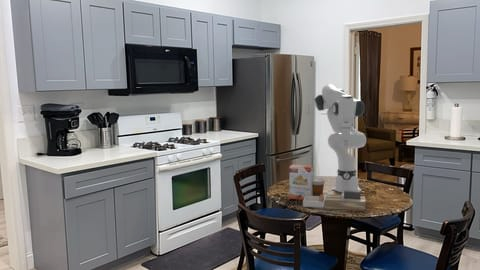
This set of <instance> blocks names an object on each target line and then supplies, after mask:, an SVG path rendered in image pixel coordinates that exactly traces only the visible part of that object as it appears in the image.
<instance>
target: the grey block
mask: <svg viewBox="0 0 480 270" xmlns="http://www.w3.org/2000/svg"><path fill="white" fill-rule="evenodd" d="M341 195H342V201H344V198H345V199H360V196H361V191H344V190H342V192H341Z"/></svg>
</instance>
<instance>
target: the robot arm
mask: <svg viewBox="0 0 480 270" xmlns="http://www.w3.org/2000/svg"><path fill="white" fill-rule="evenodd" d="M313 100H314V102H313V103H314V107H315V108H316V109H317V110H318V111H319V112H320V111H324V110H326V115H327V119H328V122H329V124H330V127H331V128H332V132H334V133H331V134H330V135H329V136H328V138H327V144H328V146H329V148H330V149H332V150H333V152H334V153H336V156H337V157H336V158H337V171H336V172H337V173H336V174H337V176H336V177H334V186H333V187H332V188H331V190H332V191H336V192H339V193H342V190H344V191H360V192H362V189H361V188H360V187H359V178H358V177H357V169H356V158H355V156H354V155H352V154H351V153H349V150H351V149H353V150H354V149H356V150H357V149H359V148H364V147H365V146H366V144H367V137H366V135H365V133H364V132H361V131H359V130H357V129H356V128H354V127H355V117H359V118H360V117H361V116H363V114H364V113H365V110H366V105H365V103H364V102H363V101H362V100H361V99H357V98H356V97H354V96H353V95H351V94H349V93H346V92H345V91H344V89H342V88H338V87H336V85H334V84H326V85H324V86H323V87H322V89H321V94H318V95H317V96H316V97H315V98H314V99H313Z"/></svg>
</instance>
